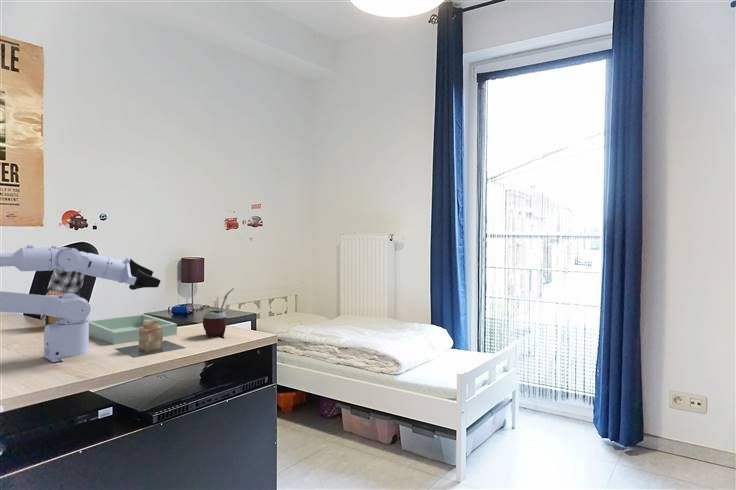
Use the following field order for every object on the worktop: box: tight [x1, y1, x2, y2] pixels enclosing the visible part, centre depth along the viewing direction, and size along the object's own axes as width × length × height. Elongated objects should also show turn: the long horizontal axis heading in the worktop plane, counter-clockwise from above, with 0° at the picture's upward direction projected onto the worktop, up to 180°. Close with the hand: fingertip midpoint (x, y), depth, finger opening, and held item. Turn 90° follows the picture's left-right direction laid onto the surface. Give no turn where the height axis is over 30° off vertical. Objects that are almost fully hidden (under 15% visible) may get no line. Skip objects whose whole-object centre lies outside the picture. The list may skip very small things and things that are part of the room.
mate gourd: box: [202, 287, 235, 339], centre depth 146 cm, size 8×8×15 cm
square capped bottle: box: [138, 319, 164, 351], centre depth 129 cm, size 4×4×8 cm
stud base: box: [114, 340, 187, 358], centre depth 129 cm, size 14×12×5 cm
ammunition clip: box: [45, 289, 66, 326], centre depth 155 cm, size 11×2×12 cm, turn 60°
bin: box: [89, 314, 178, 345], centre depth 146 cm, size 18×22×4 cm
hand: (155, 279), depth 136 cm, fingers open, 7 cm apart
